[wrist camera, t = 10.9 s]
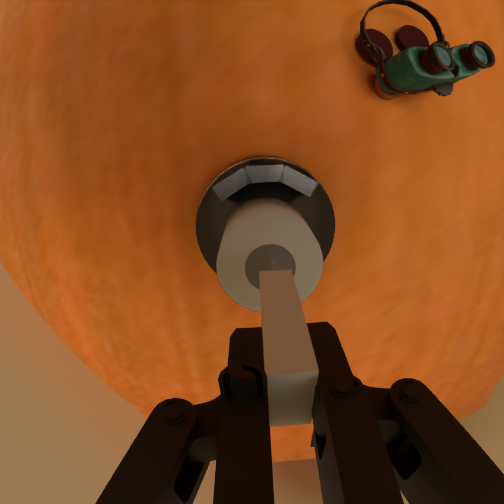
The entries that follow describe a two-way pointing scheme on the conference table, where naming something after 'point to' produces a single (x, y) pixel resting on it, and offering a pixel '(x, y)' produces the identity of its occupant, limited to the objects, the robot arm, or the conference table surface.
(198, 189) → the conference table surface
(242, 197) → the black round base
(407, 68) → the binoculars
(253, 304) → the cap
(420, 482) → the robot arm
